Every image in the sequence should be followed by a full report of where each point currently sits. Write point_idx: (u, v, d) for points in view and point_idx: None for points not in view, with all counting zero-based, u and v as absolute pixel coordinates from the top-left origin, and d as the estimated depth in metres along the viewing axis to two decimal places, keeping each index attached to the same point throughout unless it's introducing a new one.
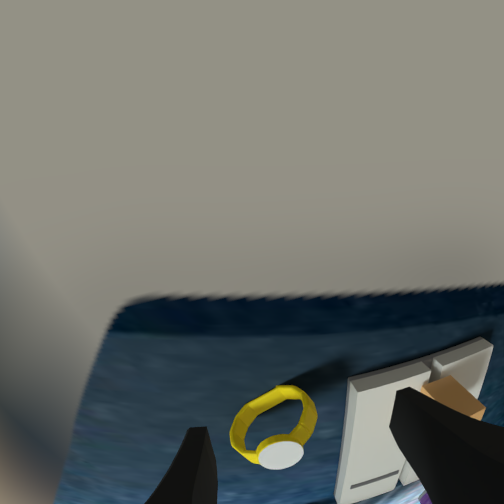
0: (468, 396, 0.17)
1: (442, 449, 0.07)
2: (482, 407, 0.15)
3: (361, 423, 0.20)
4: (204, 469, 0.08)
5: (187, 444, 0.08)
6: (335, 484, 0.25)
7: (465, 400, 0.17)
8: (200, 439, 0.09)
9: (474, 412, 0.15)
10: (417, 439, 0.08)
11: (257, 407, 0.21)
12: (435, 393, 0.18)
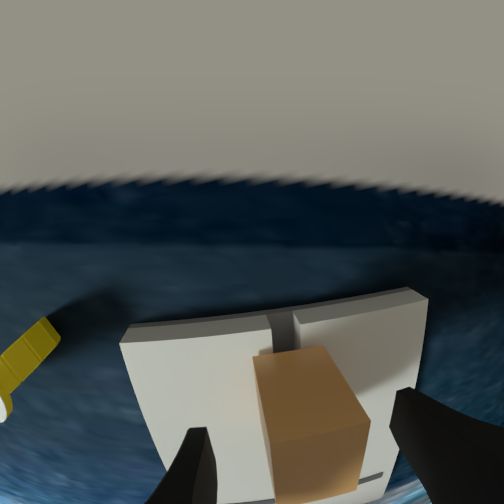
0: (339, 389, 0.10)
1: (442, 449, 0.07)
2: (362, 419, 0.08)
3: (152, 405, 0.13)
4: (204, 469, 0.08)
5: (187, 444, 0.08)
6: None
7: (327, 396, 0.09)
8: (200, 439, 0.09)
9: (335, 427, 0.08)
10: (417, 439, 0.08)
11: None
12: (268, 373, 0.11)
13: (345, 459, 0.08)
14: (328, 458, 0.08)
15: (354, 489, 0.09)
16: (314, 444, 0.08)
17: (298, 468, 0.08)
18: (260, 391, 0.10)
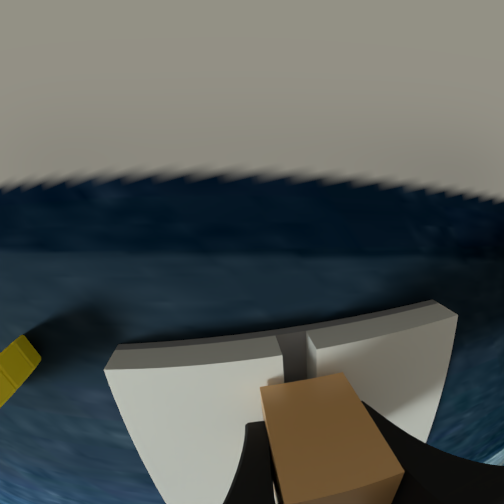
0: (365, 431, 0.07)
1: None
2: (394, 469, 0.06)
3: (145, 436, 0.11)
4: (270, 462, 0.08)
5: (251, 439, 0.08)
6: None
7: (352, 441, 0.07)
8: (263, 433, 0.09)
9: (363, 482, 0.06)
10: None
11: None
12: (279, 409, 0.09)
13: None
14: None
15: None
16: (337, 500, 0.05)
17: None
18: (271, 434, 0.08)
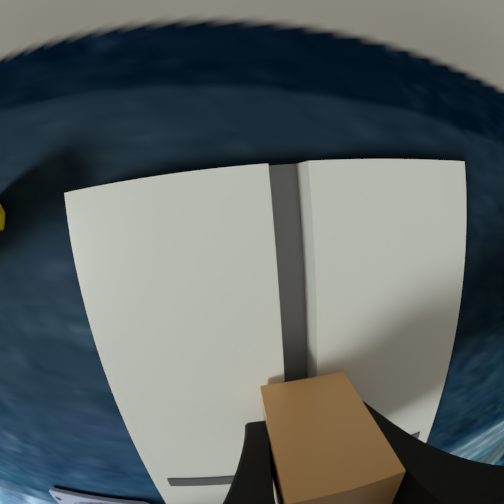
0: (366, 430, 0.07)
1: None
2: (395, 468, 0.06)
3: (99, 295, 0.09)
4: (270, 463, 0.08)
5: (251, 439, 0.08)
6: None
7: (353, 440, 0.07)
8: (263, 433, 0.09)
9: (364, 481, 0.06)
10: None
11: None
12: (280, 408, 0.09)
13: None
14: None
15: None
16: (338, 500, 0.05)
17: None
18: (271, 433, 0.08)
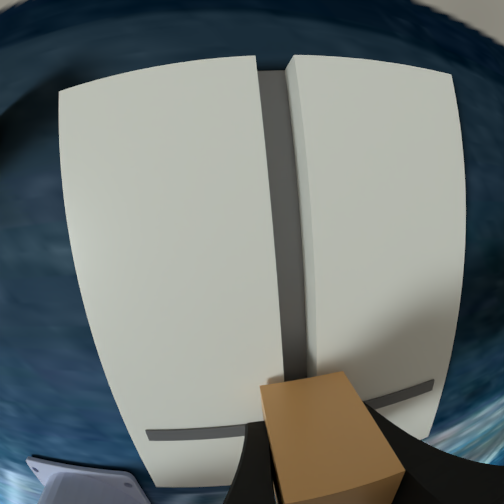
0: (365, 429, 0.07)
1: None
2: (395, 468, 0.06)
3: (80, 188, 0.09)
4: (270, 463, 0.08)
5: (251, 439, 0.08)
6: None
7: (352, 439, 0.07)
8: (263, 433, 0.09)
9: (364, 481, 0.06)
10: None
11: None
12: (279, 408, 0.09)
13: None
14: None
15: None
16: (338, 500, 0.05)
17: None
18: (271, 433, 0.08)
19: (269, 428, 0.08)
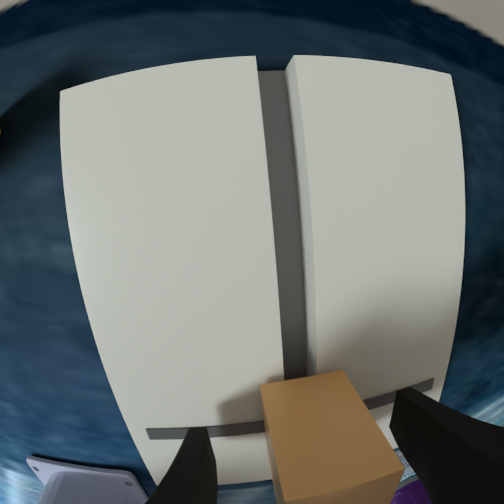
0: (365, 428, 0.07)
1: (442, 449, 0.07)
2: (394, 466, 0.06)
3: (81, 188, 0.09)
4: (204, 469, 0.08)
5: (187, 444, 0.08)
6: None
7: (352, 438, 0.07)
8: (200, 439, 0.09)
9: (363, 479, 0.06)
10: (417, 439, 0.08)
11: None
12: (279, 406, 0.09)
13: None
14: None
15: None
16: (338, 498, 0.06)
17: None
18: (271, 431, 0.08)
19: (269, 426, 0.08)
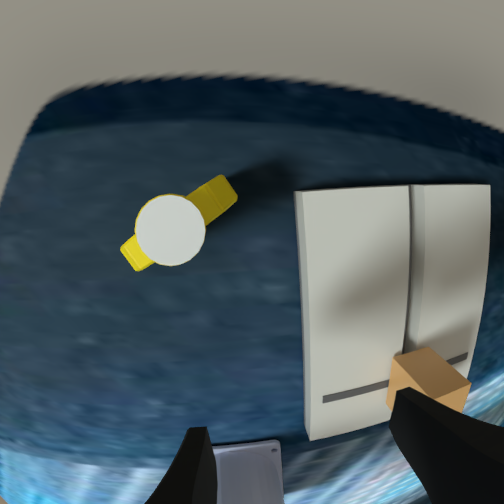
0: (449, 370, 0.15)
1: (442, 449, 0.07)
2: (467, 382, 0.14)
3: (318, 256, 0.16)
4: (204, 469, 0.08)
5: (187, 444, 0.08)
6: (304, 403, 0.21)
7: (446, 374, 0.15)
8: (200, 439, 0.09)
9: (457, 388, 0.13)
10: (417, 439, 0.08)
11: None
12: (408, 365, 0.17)
13: (456, 407, 0.14)
14: (450, 407, 0.14)
15: None
16: (448, 398, 0.13)
17: None
18: (411, 376, 0.16)
19: (409, 374, 0.16)
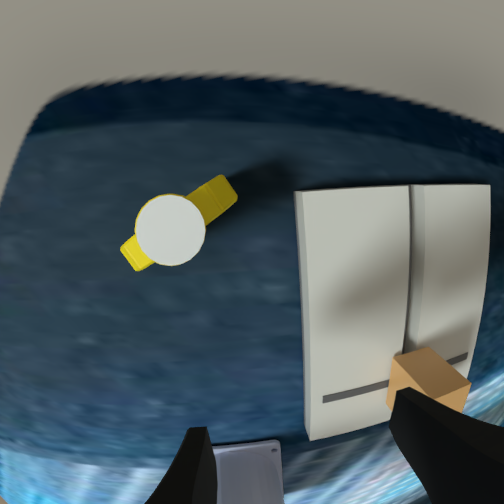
0: (449, 370, 0.15)
1: (442, 449, 0.07)
2: (467, 382, 0.14)
3: (318, 256, 0.16)
4: (204, 469, 0.08)
5: (187, 444, 0.08)
6: (304, 403, 0.21)
7: (446, 374, 0.15)
8: (200, 439, 0.09)
9: (457, 388, 0.13)
10: (417, 439, 0.08)
11: None
12: (408, 365, 0.17)
13: (456, 407, 0.14)
14: (450, 407, 0.14)
15: None
16: (448, 398, 0.13)
17: None
18: (411, 376, 0.16)
19: (409, 374, 0.16)
